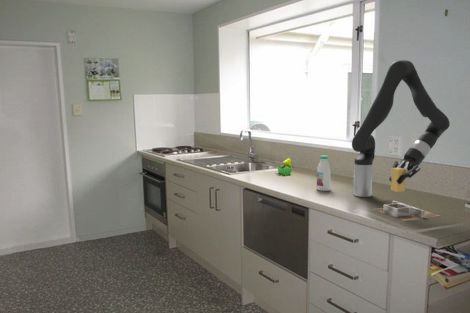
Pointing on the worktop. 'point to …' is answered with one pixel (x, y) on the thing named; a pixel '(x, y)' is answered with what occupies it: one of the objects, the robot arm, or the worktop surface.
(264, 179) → the worktop surface
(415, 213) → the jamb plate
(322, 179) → the milk bottle
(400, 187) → the block
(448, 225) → the worktop surface
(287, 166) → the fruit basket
